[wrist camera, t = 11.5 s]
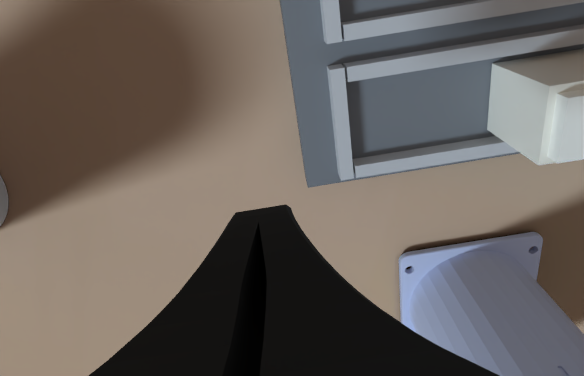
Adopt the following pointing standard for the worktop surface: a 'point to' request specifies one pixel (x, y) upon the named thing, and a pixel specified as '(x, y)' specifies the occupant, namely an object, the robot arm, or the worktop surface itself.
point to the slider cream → (540, 106)
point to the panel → (409, 77)
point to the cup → (3, 201)
